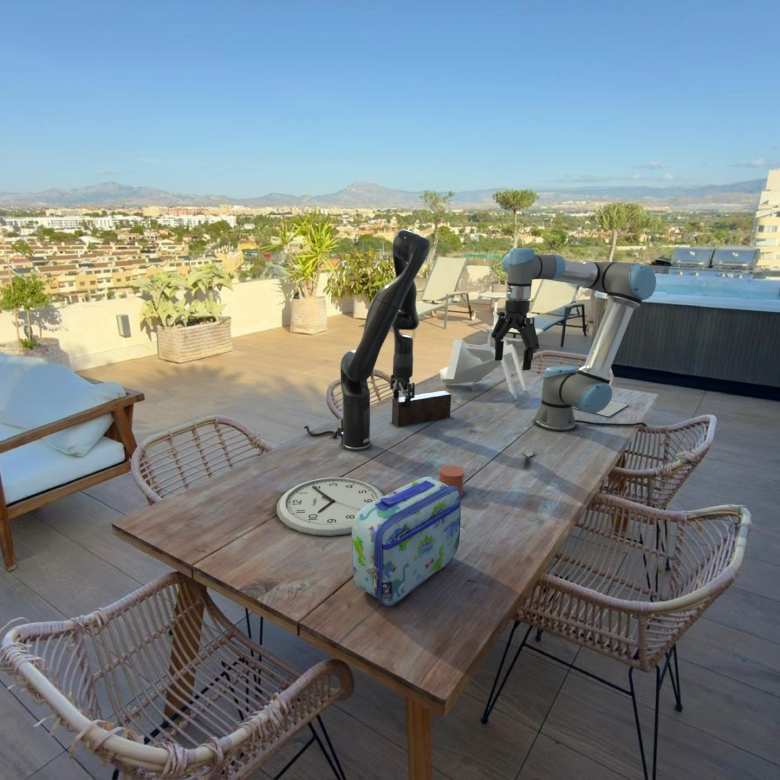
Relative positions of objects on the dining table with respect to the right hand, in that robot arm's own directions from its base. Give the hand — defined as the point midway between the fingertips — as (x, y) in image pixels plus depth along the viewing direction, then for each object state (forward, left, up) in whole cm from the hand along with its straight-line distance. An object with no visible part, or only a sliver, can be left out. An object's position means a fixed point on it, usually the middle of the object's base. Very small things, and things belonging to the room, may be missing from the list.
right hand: (512, 365), depth 170 cm
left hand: (+38, -21, -23) cm, 49 cm away
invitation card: (-46, -55, -31) cm, 78 cm away
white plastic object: (+6, -67, -31) cm, 74 cm away
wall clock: (+50, +44, -31) cm, 73 cm away
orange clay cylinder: (+18, +32, -31) cm, 48 cm away
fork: (-7, +6, -31) cm, 32 cm away
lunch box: (+27, +72, -31) cm, 83 cm away
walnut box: (+30, -26, -31) cm, 50 cm away
